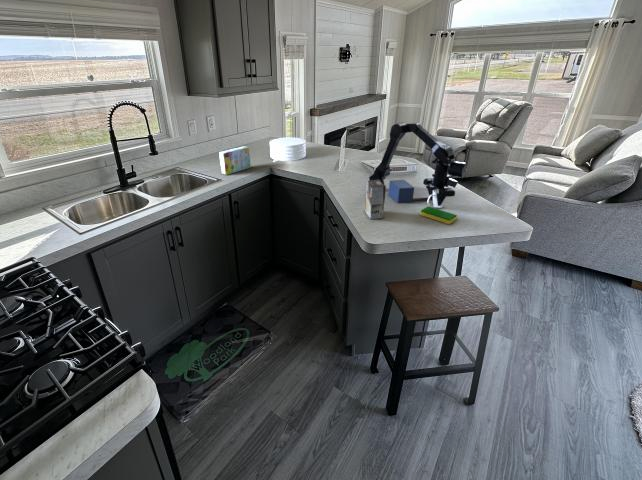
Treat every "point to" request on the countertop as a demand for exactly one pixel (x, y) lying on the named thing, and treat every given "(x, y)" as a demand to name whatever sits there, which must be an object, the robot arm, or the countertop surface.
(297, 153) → the plate stack
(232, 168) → the snack box
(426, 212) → the dish sponge
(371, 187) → the coffee box
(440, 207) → the cup
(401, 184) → the navy box
